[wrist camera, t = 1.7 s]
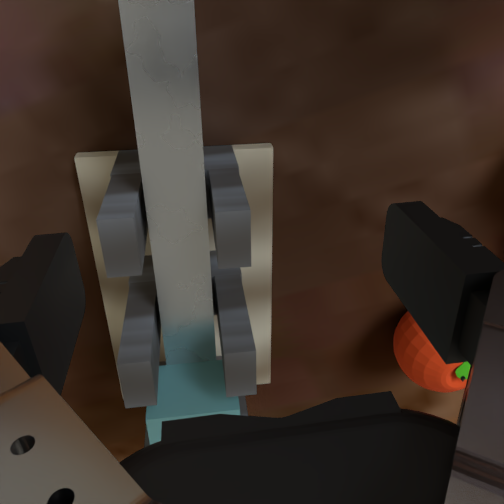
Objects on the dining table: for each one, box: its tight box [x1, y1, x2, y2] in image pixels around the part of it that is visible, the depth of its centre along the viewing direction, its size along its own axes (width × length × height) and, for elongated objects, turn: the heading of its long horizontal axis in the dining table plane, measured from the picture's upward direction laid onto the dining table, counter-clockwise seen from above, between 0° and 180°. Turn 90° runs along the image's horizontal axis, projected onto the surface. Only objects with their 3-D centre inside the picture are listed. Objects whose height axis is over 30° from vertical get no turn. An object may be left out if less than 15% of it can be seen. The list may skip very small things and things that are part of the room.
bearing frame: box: [74, 143, 273, 448], centre depth 30 cm, size 20×12×12 cm, turn 1°
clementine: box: [393, 311, 471, 392], centre depth 36 cm, size 8×7×7 cm
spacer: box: [146, 360, 240, 445], centre depth 28 cm, size 4×5×4 cm
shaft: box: [118, 0, 216, 365], centre depth 27 cm, size 30×4×4 cm, turn 1°
